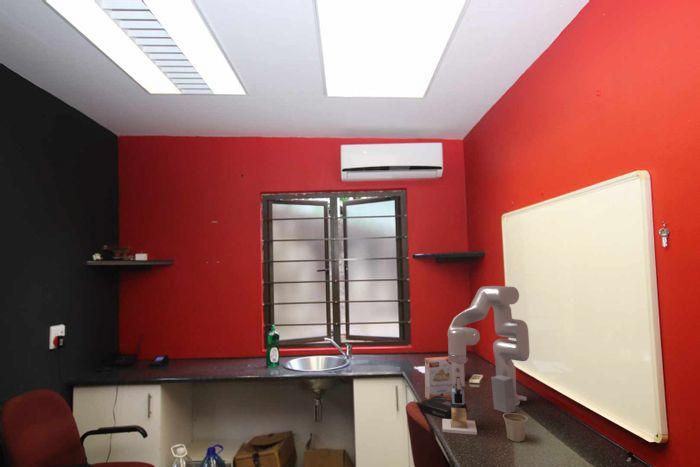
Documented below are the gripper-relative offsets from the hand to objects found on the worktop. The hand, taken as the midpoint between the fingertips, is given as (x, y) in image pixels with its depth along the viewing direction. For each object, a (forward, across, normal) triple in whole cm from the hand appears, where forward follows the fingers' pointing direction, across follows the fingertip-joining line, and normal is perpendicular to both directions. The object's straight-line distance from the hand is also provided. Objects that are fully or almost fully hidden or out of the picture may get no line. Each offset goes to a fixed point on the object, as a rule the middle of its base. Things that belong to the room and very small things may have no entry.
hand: (458, 400), depth 180 cm
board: (+12, 0, 0) cm, 12 cm away
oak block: (+10, 0, 0) cm, 10 cm away
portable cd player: (+12, +20, +7) cm, 25 cm away
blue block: (+1, 0, 0) cm, 1 cm away
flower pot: (+12, -7, -22) cm, 26 cm away
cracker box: (+12, +38, +8) cm, 41 cm away
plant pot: (+11, +76, -2) cm, 77 cm away
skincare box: (+12, +26, -22) cm, 36 cm away
